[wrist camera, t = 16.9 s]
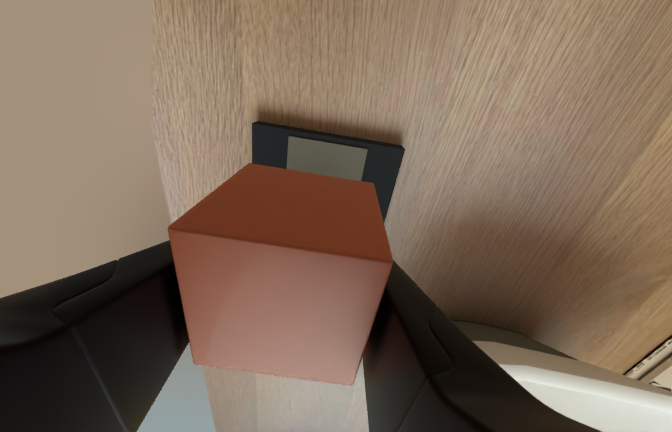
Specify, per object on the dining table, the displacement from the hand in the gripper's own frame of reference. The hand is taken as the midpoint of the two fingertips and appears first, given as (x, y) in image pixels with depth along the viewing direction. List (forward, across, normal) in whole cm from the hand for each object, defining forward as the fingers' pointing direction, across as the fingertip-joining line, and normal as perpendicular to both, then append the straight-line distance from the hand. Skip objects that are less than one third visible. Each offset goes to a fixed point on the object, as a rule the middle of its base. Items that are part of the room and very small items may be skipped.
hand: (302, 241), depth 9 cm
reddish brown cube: (+1, 0, 0) cm, 1 cm away
